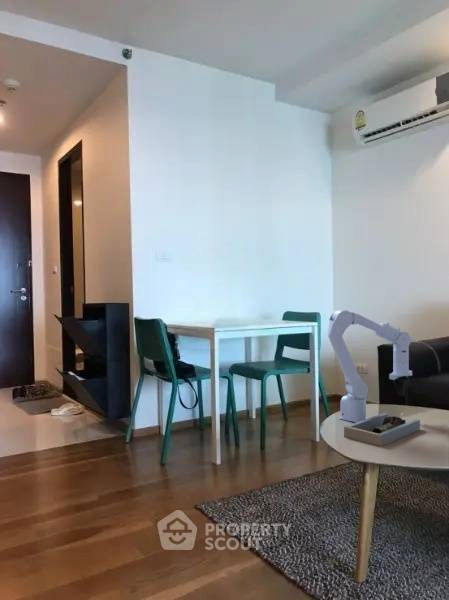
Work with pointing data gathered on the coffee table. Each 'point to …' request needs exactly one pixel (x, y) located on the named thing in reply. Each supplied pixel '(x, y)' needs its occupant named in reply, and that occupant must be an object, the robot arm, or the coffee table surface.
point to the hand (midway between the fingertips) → (400, 395)
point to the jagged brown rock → (389, 424)
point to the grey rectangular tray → (361, 433)
